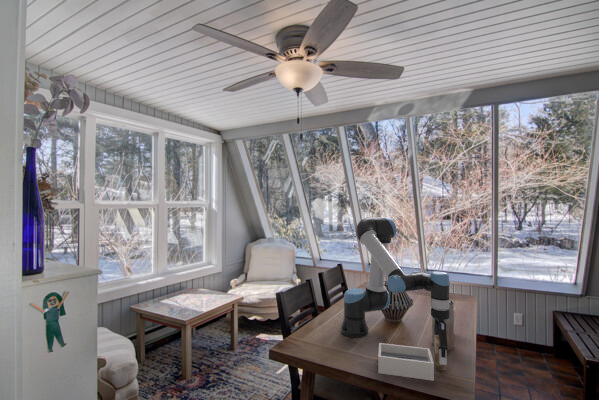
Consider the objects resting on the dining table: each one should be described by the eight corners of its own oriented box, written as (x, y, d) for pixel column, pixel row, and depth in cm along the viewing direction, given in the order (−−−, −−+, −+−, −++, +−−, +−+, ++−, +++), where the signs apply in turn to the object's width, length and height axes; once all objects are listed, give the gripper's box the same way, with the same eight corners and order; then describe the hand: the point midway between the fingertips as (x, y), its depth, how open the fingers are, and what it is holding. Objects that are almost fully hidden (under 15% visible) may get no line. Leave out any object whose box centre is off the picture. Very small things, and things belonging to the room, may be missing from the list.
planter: (432, 348, 160) (432, 302, 160) (432, 340, 170) (431, 297, 170) (454, 351, 157) (454, 304, 157) (452, 343, 166) (452, 299, 166)
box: (378, 373, 137) (378, 356, 137) (379, 357, 150) (379, 342, 150) (433, 380, 131) (433, 363, 131) (429, 364, 144) (429, 348, 144)
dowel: (435, 370, 139) (435, 337, 139) (434, 365, 143) (434, 334, 143) (445, 371, 138) (445, 339, 138) (444, 367, 142) (444, 335, 142)
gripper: (455, 318, 128) (455, 372, 127) (444, 300, 152) (444, 345, 151) (434, 316, 129) (435, 369, 129) (427, 299, 154) (427, 343, 153)
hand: (440, 356), depth 140 cm, fingers open, 13 cm apart
